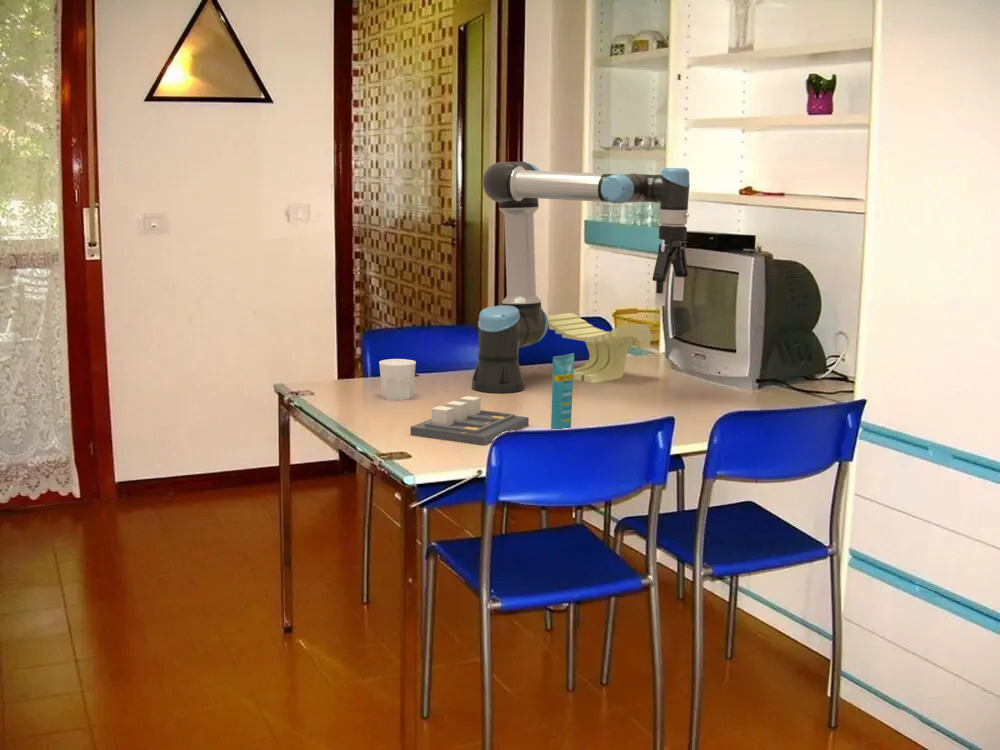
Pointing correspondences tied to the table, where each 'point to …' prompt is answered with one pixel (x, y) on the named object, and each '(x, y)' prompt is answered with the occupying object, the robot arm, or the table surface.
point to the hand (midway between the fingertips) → (669, 302)
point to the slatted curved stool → (600, 345)
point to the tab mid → (458, 409)
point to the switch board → (472, 427)
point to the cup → (397, 378)
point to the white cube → (442, 415)
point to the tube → (562, 391)
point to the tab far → (472, 404)
